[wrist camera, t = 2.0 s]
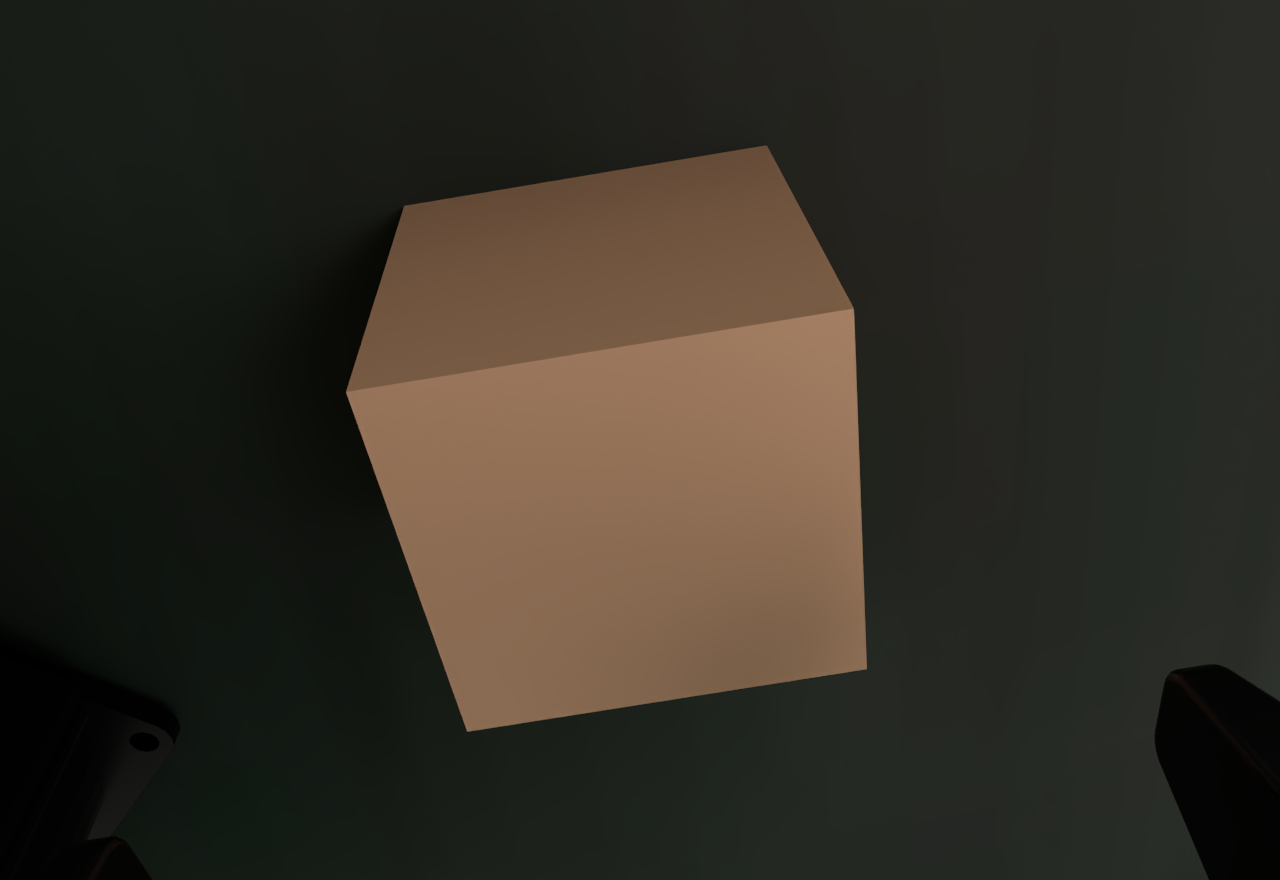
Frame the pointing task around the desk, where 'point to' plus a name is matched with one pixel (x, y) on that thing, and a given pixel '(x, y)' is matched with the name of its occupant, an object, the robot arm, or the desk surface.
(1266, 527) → the desk surface
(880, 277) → the desk surface
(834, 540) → the plain cardboard-brown cube
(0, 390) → the desk surface
